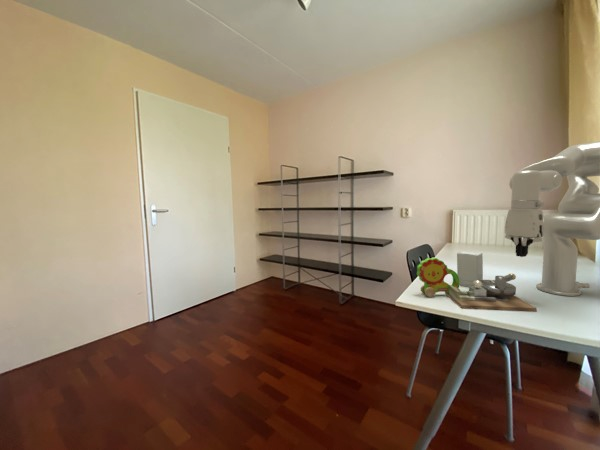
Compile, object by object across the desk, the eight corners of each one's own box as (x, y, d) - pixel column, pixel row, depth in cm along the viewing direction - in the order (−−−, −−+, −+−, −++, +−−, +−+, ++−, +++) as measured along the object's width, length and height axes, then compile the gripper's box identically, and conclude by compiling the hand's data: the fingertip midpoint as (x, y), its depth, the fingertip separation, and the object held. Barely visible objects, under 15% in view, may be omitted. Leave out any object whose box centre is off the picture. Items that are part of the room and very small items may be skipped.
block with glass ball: (480, 295, 96) (480, 278, 95) (486, 299, 92) (486, 282, 92) (468, 295, 97) (469, 278, 96) (474, 299, 93) (474, 281, 92)
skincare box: (483, 286, 110) (484, 253, 109) (476, 289, 107) (478, 254, 105) (462, 281, 117) (463, 250, 116) (455, 284, 114) (456, 251, 112)
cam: (526, 300, 89) (527, 279, 88) (482, 296, 94) (482, 276, 93) (510, 289, 101) (511, 270, 100) (472, 286, 105) (472, 268, 104)
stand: (507, 295, 99) (508, 283, 99) (536, 311, 85) (537, 298, 84) (444, 293, 103) (445, 282, 103) (461, 308, 89) (462, 295, 88)
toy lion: (453, 293, 103) (454, 256, 103) (461, 298, 98) (462, 259, 97) (414, 293, 104) (415, 256, 103) (420, 297, 99) (420, 258, 98)
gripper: (557, 205, 84) (553, 259, 86) (507, 205, 98) (504, 251, 100) (545, 206, 82) (540, 261, 83) (495, 205, 96) (492, 253, 97)
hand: (521, 256), depth 92 cm, fingers closed
